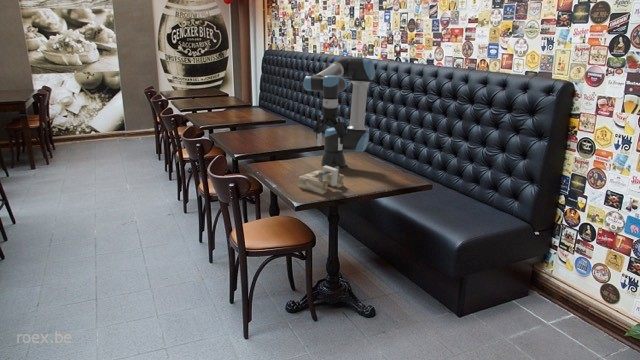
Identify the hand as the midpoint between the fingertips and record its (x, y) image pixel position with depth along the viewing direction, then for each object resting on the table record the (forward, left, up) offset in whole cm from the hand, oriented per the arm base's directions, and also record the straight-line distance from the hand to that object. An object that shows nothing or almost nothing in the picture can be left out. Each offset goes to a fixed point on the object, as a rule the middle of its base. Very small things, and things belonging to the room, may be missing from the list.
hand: (329, 147), depth 247 cm
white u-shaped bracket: (+2, +2, -18) cm, 19 cm away
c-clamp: (+2, -3, -21) cm, 22 cm away
